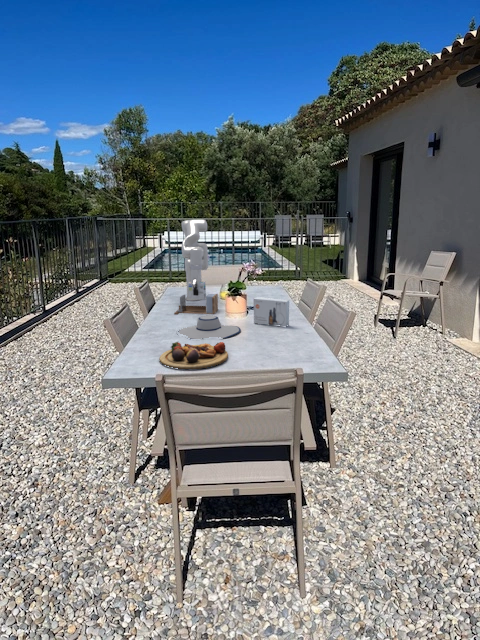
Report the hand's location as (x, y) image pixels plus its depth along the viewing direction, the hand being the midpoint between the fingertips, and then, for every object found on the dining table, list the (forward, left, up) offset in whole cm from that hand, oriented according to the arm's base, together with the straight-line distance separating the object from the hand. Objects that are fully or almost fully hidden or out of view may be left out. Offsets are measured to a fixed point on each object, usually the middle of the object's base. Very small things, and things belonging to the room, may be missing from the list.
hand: (197, 294), depth 296 cm
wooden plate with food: (+90, +20, -14) cm, 93 cm away
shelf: (0, -1, -13) cm, 13 cm away
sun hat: (+43, +17, -14) cm, 48 cm away
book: (-1, +9, -12) cm, 15 cm away
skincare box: (+25, +51, -13) cm, 58 cm away
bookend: (0, -11, -12) cm, 16 cm away
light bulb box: (0, 0, -3) cm, 3 cm away
